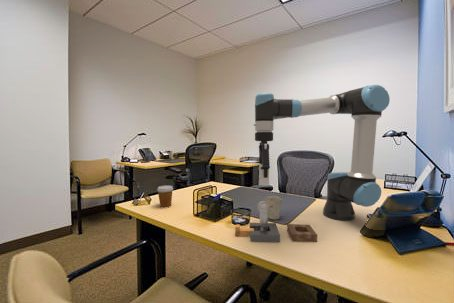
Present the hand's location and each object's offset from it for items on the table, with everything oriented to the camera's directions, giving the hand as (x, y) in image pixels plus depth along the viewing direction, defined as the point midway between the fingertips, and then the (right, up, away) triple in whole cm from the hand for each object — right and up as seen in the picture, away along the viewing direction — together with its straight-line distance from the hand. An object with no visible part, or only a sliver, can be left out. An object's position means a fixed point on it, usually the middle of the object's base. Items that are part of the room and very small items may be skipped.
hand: (263, 181), depth 95 cm
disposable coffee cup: (-53, -21, +42) cm, 71 cm away
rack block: (+16, -23, +1) cm, 29 cm away
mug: (+7, -22, +23) cm, 32 cm away
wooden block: (-8, -24, +3) cm, 25 cm away
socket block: (0, -24, +2) cm, 24 cm away
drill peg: (0, -24, +2) cm, 24 cm away
